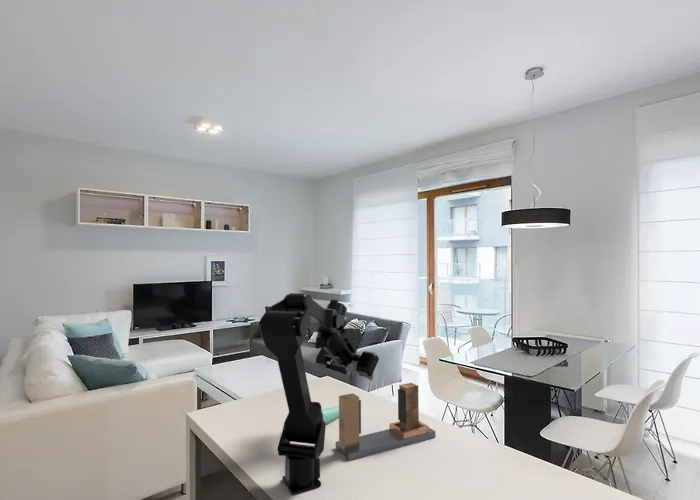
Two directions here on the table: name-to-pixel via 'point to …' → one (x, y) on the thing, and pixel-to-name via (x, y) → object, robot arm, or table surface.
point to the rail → (374, 442)
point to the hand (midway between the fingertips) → (358, 376)
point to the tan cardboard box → (408, 406)
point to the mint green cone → (330, 414)
